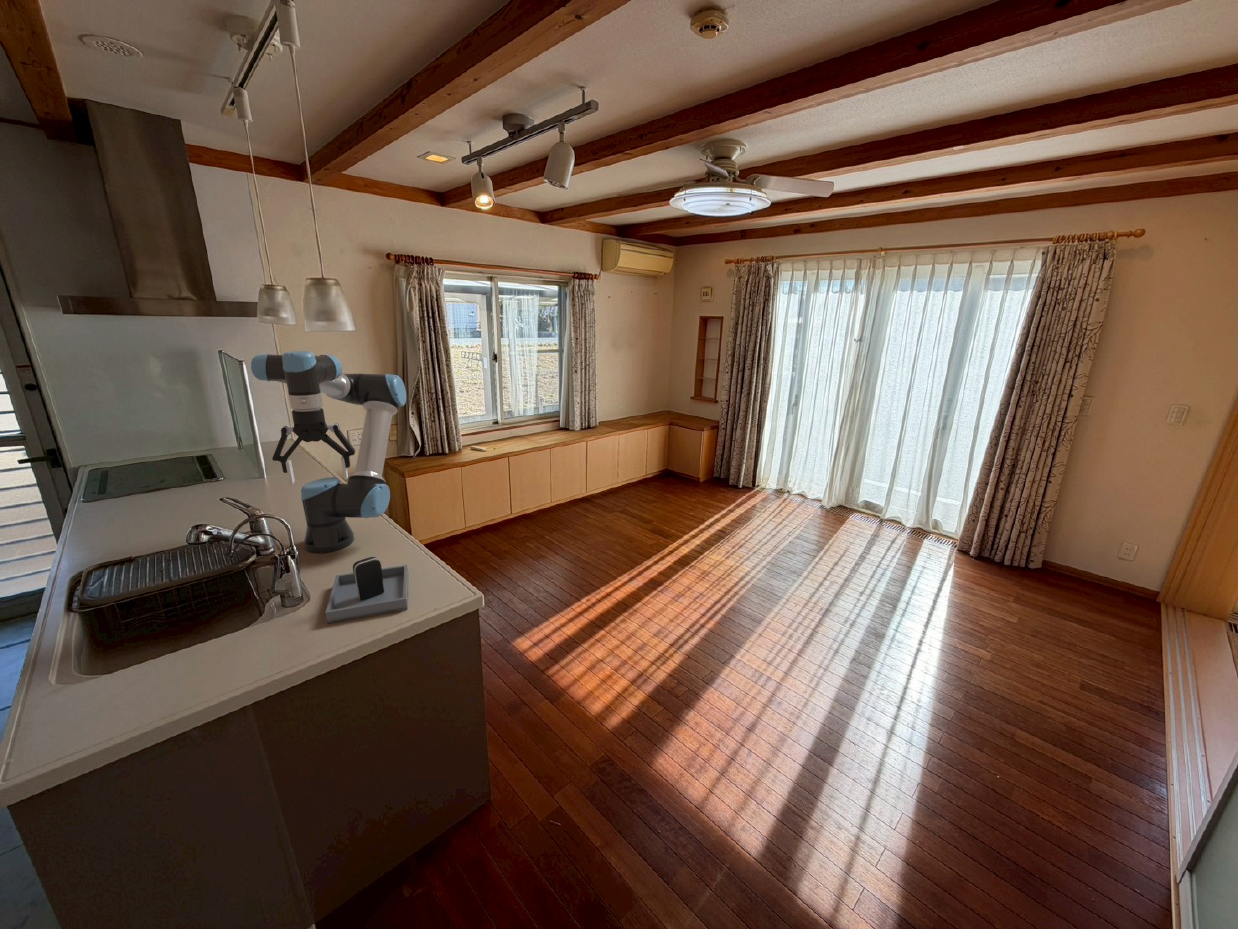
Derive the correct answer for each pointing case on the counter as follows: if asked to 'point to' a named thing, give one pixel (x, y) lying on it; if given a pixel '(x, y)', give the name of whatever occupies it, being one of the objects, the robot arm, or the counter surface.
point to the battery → (368, 577)
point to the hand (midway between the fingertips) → (319, 480)
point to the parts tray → (350, 607)
